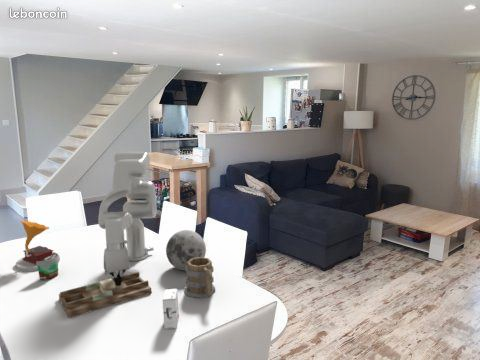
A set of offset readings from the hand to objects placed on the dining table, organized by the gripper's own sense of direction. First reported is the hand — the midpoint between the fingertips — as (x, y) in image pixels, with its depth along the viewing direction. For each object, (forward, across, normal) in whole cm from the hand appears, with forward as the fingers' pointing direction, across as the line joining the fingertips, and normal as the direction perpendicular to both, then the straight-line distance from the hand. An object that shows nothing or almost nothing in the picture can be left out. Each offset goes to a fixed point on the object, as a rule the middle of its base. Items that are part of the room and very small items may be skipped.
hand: (118, 284), depth 162 cm
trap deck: (+4, +5, 0) cm, 7 cm away
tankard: (+4, -29, +24) cm, 38 cm away
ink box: (+4, -8, +35) cm, 36 cm away
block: (+1, +5, 0) cm, 5 cm away
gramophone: (+4, +23, -57) cm, 62 cm away
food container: (+4, +20, -35) cm, 41 cm away
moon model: (+4, -37, -5) cm, 37 cm away
